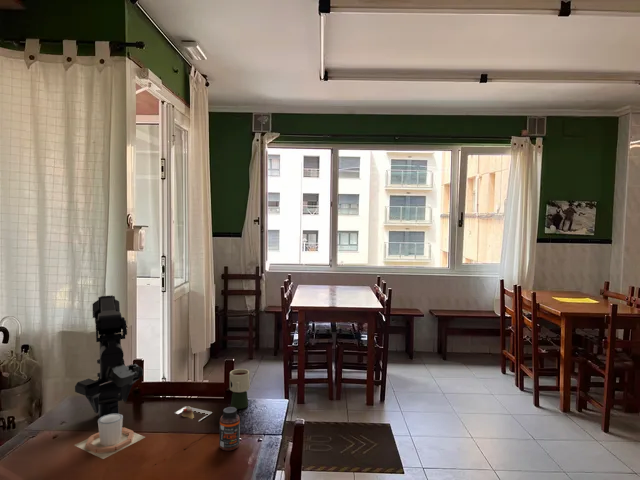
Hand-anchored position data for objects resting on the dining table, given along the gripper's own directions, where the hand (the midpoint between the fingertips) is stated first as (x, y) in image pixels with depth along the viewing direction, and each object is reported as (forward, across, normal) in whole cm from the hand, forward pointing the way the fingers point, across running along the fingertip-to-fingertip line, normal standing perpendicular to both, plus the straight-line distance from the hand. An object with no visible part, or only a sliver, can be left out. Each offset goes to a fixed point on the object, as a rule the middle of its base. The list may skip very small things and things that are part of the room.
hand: (111, 406), depth 130 cm
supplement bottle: (+12, +18, -31) cm, 38 cm away
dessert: (+12, +24, -7) cm, 28 cm away
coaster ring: (+10, -1, 0) cm, 10 cm away
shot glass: (+10, 0, 0) cm, 10 cm away
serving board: (+11, -1, 0) cm, 11 cm away
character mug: (+12, +39, -16) cm, 44 cm away
